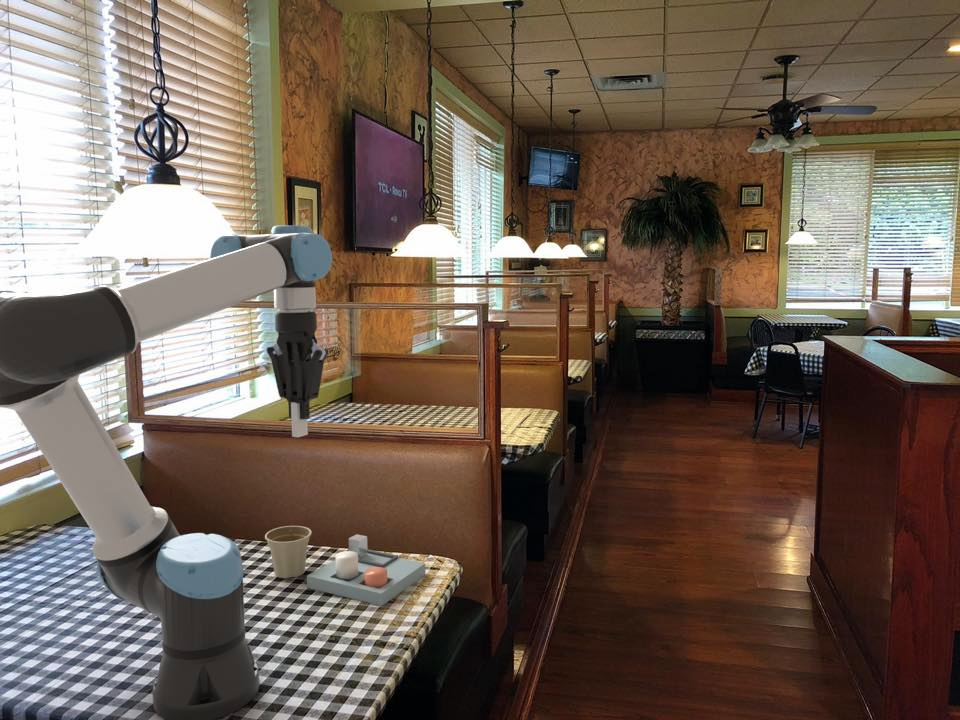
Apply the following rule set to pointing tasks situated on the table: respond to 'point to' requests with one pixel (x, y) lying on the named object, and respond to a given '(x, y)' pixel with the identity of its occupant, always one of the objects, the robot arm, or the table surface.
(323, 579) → the panel
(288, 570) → the flower pot
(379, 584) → the salmon orange egg
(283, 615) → the table surface
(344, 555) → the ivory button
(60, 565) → the table surface
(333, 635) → the table surface
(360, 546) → the grey stone cube
